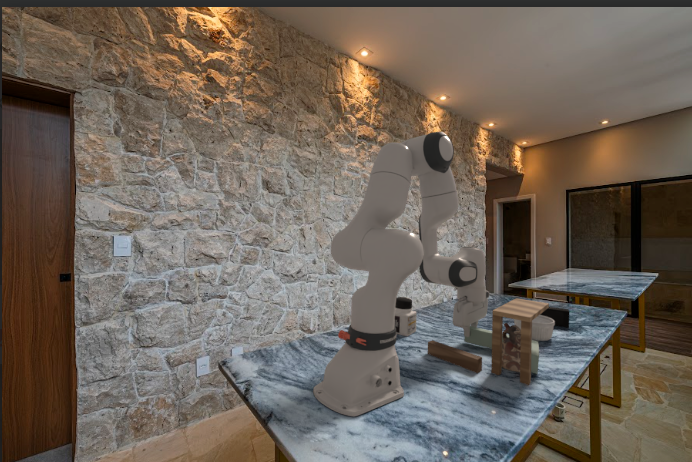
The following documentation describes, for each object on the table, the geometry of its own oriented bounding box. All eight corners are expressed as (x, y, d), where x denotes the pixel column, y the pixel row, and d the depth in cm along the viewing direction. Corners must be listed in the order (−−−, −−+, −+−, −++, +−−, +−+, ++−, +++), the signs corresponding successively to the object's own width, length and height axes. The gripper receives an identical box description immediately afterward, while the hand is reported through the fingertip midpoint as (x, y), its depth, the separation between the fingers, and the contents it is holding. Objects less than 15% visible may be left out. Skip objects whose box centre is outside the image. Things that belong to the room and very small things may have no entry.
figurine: (515, 373, 81) (515, 330, 81) (493, 362, 88) (494, 322, 88) (532, 369, 84) (533, 327, 84) (510, 359, 91) (510, 320, 91)
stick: (477, 374, 81) (477, 359, 81) (427, 354, 94) (427, 342, 94) (481, 371, 83) (482, 357, 83) (432, 352, 95) (432, 340, 95)
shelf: (528, 385, 75) (530, 317, 75) (491, 372, 82) (492, 310, 82) (547, 359, 91) (548, 303, 91) (515, 350, 97) (516, 298, 97)
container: (407, 336, 108) (408, 301, 108) (388, 332, 113) (389, 298, 113) (416, 331, 115) (417, 297, 115) (398, 327, 119) (399, 294, 119)
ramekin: (563, 343, 105) (563, 323, 105) (525, 342, 106) (526, 322, 106) (539, 330, 119) (540, 313, 119) (506, 329, 119) (506, 312, 119)
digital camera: (567, 324, 127) (568, 308, 127) (569, 328, 122) (569, 311, 122) (538, 320, 132) (539, 304, 132) (539, 323, 128) (539, 307, 128)
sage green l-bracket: (537, 374, 81) (539, 356, 81) (457, 351, 93) (458, 336, 92) (537, 357, 92) (538, 341, 92) (465, 339, 104) (466, 325, 103)
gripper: (467, 300, 92) (466, 345, 92) (491, 291, 107) (490, 330, 107) (448, 297, 97) (447, 339, 97) (473, 289, 111) (472, 326, 111)
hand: (470, 334), depth 102 cm, fingers closed on sage green l-bracket, 3 cm apart
